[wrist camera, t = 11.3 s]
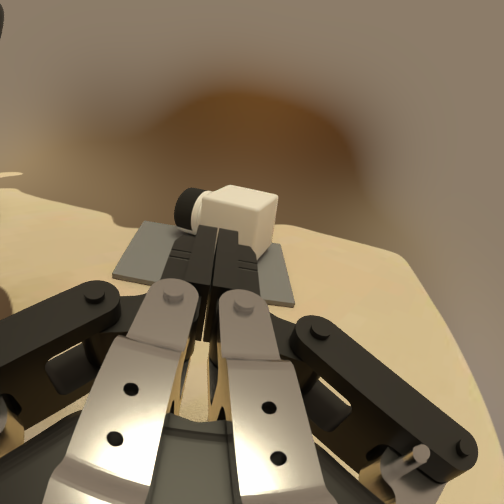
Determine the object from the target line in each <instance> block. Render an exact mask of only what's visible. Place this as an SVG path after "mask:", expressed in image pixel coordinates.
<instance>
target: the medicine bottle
mask: <svg viewBox="0 0 504 504" xmlns="http://www.w3.org/2000/svg"><path fill="white" fill-rule="evenodd" d="M277 202H278V196H277V195H275V194H271V193H266V192H262V191H257V190H252V189H248V188H242V187H238V186H233V185H228V186H226V187H224V188H221V189H219V190H217V191H214V192H211V191H207V190H201V189H197V188H188V189H186V190H185V191H184V192H183V193H182V194H181V195H180V197H179V198H178V200H177V203H176V206H175V212H174V219H175V223H176V225H177V227H178V229H179V230H181V231H184V232H187V233H191V234H194V235H196V233H197V229H198V226H199V225H205V226H211V227H217V228H218V229H217V237H218V232H219V228H223V229H228V230H234V231H238V244H240V245H245V246H250V247H251V248H252V250H253V251H254V252H255V254H256V257H257V260H258V258H259V257H260V256H261V255H262V254H263V253H264V252H265V251H266V250H267V248H268V247H269V246H270V245H271V243H272V237H273V230H274V223H275V217H276V210H277ZM217 237H216V242H217ZM215 248H216V244H215ZM214 253H215V251H214Z"/></svg>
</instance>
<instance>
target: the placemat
mask: <svg viewBox="0 0 504 504" xmlns="http://www.w3.org/2000/svg"><path fill="white" fill-rule="evenodd" d="M182 235H187V236H193V237H195V236H196V235H194V234H191V233H187V232H184V231H181V230H179V229H178V227H177V226H173V225H167V224H161V223H155V222H148V221H144V222H143V223H142V225H141V226H140V228H139V230H138V231H137V233H136V234H135V236H134V238H133V239H132V241H131V242H130V244H129V246H128V247H127V249H126V251H125V252H124V254H123V256H122V257H121V259H120V261H119V262H118V264H117V266H116V268H115V269H114V271H113V273H112V278H116V279H121V280H126V281H131V282H136V283H141V284H146V285H153V284H154V283H155V282H157V281H159V280H160V279H161V276H162V273H163V270H164V268H165V265H166V262H167V259H168V257H169V254H170V251H171V249H172V246H173V243H174V241H175V240H176V239H178V238H179V237H180V236H182ZM257 267H258V276H259V286H260V295H261V298H263V299H264V301H265V302H266V303H267V304H270V305H278V306H286V307H294V305H295V301H294V297H293V293H292V289H291V285H290V281H289V276H288V272H287V268H286V265H285V261H284V257H283V253H282V249H281V245H280V244H276V243H271V245H270V246H269V247H268V248H267V250H266V251H265V252H264V253H263V254H262V255H261V256H260V257H259V258H258V260H257Z"/></svg>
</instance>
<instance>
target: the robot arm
mask: <svg viewBox="0 0 504 504" xmlns="http://www.w3.org/2000/svg"><path fill="white" fill-rule="evenodd" d="M3 21H4V11H3V8H2V6H1V4H0V38H1V34H2V28H3ZM217 229H218V228H217V227H211V226H205V225H199V226H198V229H197V233H196V236H195V237H193V236H187V235H182V236H180V237H179V238H178V239H176V240H175V241H174V243H173V246H172V249H171V251H170V254H169V257H168V259H167V262H166V265H165V268H164V270H163V273H162V276H161V279H160V280H159V281H157V282H155V283H154V284H153V285H151V287H150V288H149V290H148V292H147V293H146V294H143V295H138V296H120V294H119V291H118V289H117V288H116V287H115V286H114V285H112V284H111V283H108V282H105V281H100V280H94V281H88V282H85V283H82V284H80V285H78V286H75V287H73V288H71V289H69V290H66V291H64V292H62V293H59V294H57V295H55V296H53V297H50V298H48V299H46V300H44V301H41V302H39V303H37V304H35V305H33V306H30V307H28V308H26V309H24V310H22V311H20V312H17V313H15V314H13V315H11V316H9V317H7V318H5V319H3V320H0V504H436V502H437V500H438V498H439V496H440V495H441V493H442V491H443V489H444V487H445V485H446V483H447V482H448V481H450V480H452V479H454V478H456V477H457V476H459V475H461V474H462V473H464V472H466V471H467V470H469V469H471V468H472V467H473V466H474V465H475V463H476V461H477V457H478V447H477V444H476V441H475V439H474V438H473V436H472V435H471V434H470V433H469V432H468V431H467V430H465V429H464V428H463V427H462V426H460V425H459V424H458V423H457V422H455V421H454V420H453V419H452V418H450V417H449V416H448V415H447V414H445V413H444V412H443V411H442V410H440V409H439V408H438V407H437V406H435V405H434V404H433V403H432V402H430V401H429V400H428V399H427V398H425V397H424V396H423V395H422V394H420V393H419V392H418V391H417V390H415V389H414V388H413V387H412V386H410V385H409V384H408V383H407V382H405V381H404V380H403V379H402V378H400V377H399V376H398V375H397V374H395V373H394V372H393V371H392V370H390V369H389V368H388V367H387V366H385V365H384V364H383V363H382V362H380V361H379V360H378V359H377V358H375V357H374V356H373V355H372V354H370V353H369V352H368V351H367V350H366V349H364V348H363V347H362V346H361V345H359V344H358V343H357V342H356V341H354V340H353V339H352V338H351V337H349V336H348V335H347V334H346V333H344V332H343V331H342V330H341V329H340V328H338V327H337V326H336V325H335V324H333V323H332V322H331V321H329V320H327V319H325V318H323V317H320V316H314V315H309V316H304V317H302V318H300V319H299V320H298V321H297V323H296V324H294V323H291V322H289V321H286V320H283V319H280V318H278V317H276V316H274V315H273V314H271V313H270V312H269V308H268V305H267V303H266V302H265V301H264V299H263V298H261V295H260V286H259V276H258V267H257V257H256V254H255V252H254V251H253V250H252V248H251V247H250V246H245V245H240V244H238V231H234V230H228V229H223V228H219V232H218V237H217ZM216 237H217V242H216ZM215 244H216V248H215ZM214 251H215V253H214ZM206 307H207V310H206ZM205 313H206V319H205ZM204 319H205V328H204V337H203V341H204V342H210V346H209V354H208V359H207V384H208V422H193V421H190V420H188V419H185V418H182V417H180V416H179V411H180V405H181V401H182V396H183V391H184V387H185V382H186V378H187V373H188V369H189V364H190V360H191V355H192V354H193V351H194V345H195V340H197V341H201V338H202V331H203V325H204ZM80 342H82V343H81V344H80V345H78V346H76V347H74V348H72V349H70V350H68V351H66V352H65V353H63V354H61V355H59V356H57V357H55V358H53V359H51V360H50V361H48V360H49V359H50V358H52V357H53V356H55V355H57V354H59V353H61V352H63V351H65V350H67V349H69V348H70V347H72V346H74V345H76V344H78V343H80ZM320 376H321V377H322V378H323V379H324V380H325V381H326V382H327V383H328V384H330V385H331V386H332V387H333V388H334V389H335V390H336V391H338V392H339V393H340V394H341V395H342V396H343V397H344V398H346V399H347V400H348V401H349V403H350V404H351V406H348V405H347V404H345V403H344V402H343V401H342V400H341V399H340V398H338V397H337V396H336V395H335V394H334V393H333V392H332V391H330V390H329V389H328V388H327V387H326V386H325V385H324V384H323V383H321V382H320V381H319V380H318V379H319V378H320ZM88 393H89V395H88V398H87V400H86V403H85V405H84V407H83V410H80V411H77V412H74V413H72V414H70V415H68V416H66V417H64V418H63V419H61V420H60V421H58V422H57V423H55V424H54V425H52V426H50V427H49V428H47V429H46V430H44V431H43V432H41V433H40V434H38V435H36V436H35V437H33V438H32V439H30V440H28V441H27V442H25V443H24V431H25V430H27V429H28V428H30V427H32V426H34V425H35V424H37V423H39V422H41V421H42V420H44V419H46V418H47V417H49V416H51V415H53V414H54V413H56V412H58V411H59V410H61V409H63V408H65V407H66V406H68V405H70V404H71V403H73V402H75V401H76V400H78V399H80V398H81V397H83V396H85V395H86V394H88ZM312 434H313V435H314V436H315V437H316V438H317V439H319V440H320V441H321V442H322V443H323V444H324V445H325V446H326V447H327V448H329V449H330V450H331V451H332V452H333V453H334V454H335V455H337V456H338V457H339V458H340V459H341V460H342V461H344V462H345V463H346V464H347V465H348V466H350V467H351V468H352V469H353V470H354V471H356V472H357V473H358V474H359V481H358V480H357V479H356V478H355V477H354V476H352V475H351V474H350V473H349V472H348V471H347V470H346V469H345V468H343V467H342V466H341V465H340V464H339V463H338V462H337V461H336V460H335V459H334V458H333V457H332V456H331V455H329V454H328V453H327V452H326V451H325V450H324V449H323V448H322V447H320V446H319V445H318V444H316V443H315V442H314V440H313V437H312Z"/></svg>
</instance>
